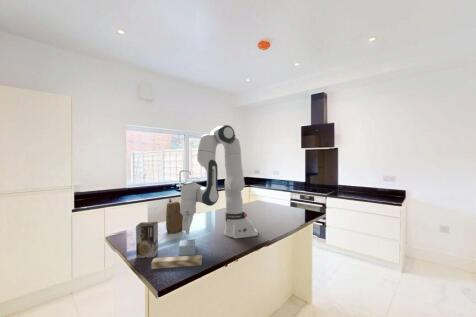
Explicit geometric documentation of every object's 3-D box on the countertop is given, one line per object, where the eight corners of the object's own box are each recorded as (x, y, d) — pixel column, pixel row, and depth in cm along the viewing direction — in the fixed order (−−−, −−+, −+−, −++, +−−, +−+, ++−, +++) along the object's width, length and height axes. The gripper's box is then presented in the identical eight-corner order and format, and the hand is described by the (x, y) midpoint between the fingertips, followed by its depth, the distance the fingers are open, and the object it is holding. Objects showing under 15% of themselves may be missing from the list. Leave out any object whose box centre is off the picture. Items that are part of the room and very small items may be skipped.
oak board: (201, 261, 100) (201, 254, 100) (201, 265, 96) (201, 258, 96) (153, 264, 97) (153, 258, 98) (151, 268, 94) (151, 262, 94)
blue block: (194, 248, 116) (194, 239, 116) (195, 254, 108) (195, 244, 108) (180, 249, 114) (179, 240, 114) (179, 256, 106) (179, 246, 107)
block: (167, 234, 137) (167, 204, 138) (165, 231, 144) (165, 202, 144) (184, 231, 143) (184, 202, 143) (181, 228, 149) (181, 200, 150)
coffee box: (158, 252, 111) (158, 221, 111) (154, 257, 105) (154, 225, 105) (141, 252, 111) (140, 221, 111) (135, 258, 104) (135, 225, 104)
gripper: (191, 214, 111) (191, 240, 110) (195, 206, 131) (194, 228, 131) (179, 214, 110) (178, 240, 110) (184, 206, 130) (184, 228, 130)
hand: (187, 233), depth 120 cm, fingers closed
